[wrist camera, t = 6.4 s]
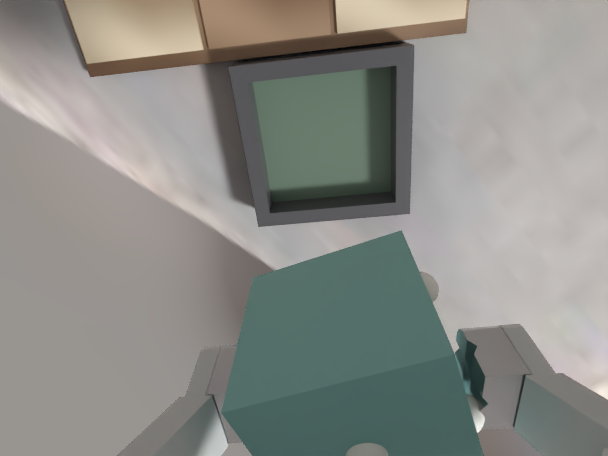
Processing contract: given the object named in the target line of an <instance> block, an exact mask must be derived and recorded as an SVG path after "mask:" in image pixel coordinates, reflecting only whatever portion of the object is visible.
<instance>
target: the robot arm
mask: <svg viewBox="0 0 608 456" xmlns="http://www.w3.org/2000/svg"><path fill="white" fill-rule="evenodd" d="M456 341H457V343H458V345H459V349H458V350H457V351H456V352H455V357H456V361H457V364H458V368H459V371H460V375H461V378H462V382H463V385H464V389H465V392H466V394H468V395H471V396H472V397H474V398H475V400H476V401H477V404H478V407H479V410H480V412H481V413H482V414H483V415H484V417H485V422H484V425H483V427H482V429H497V428H514V430H515V431H516V432H517V433H518V434H519V435H520V436H521V437H522V438H523V439H525V440H526V441H527V442H528V443H529V444H530V445H531V446H532V447H533V448H534V449H535V450H536V451H538V452H539V453H540V454H541V455H542V456H608V400H607V399H605V398H604V397H602V396H600V395H599V394H597V393H595V392H593V391H592V390H590V389H588V388H587V387H585V386H583V385H582V384H580V383H578V382H577V381H575V380H573V379H571V378H570V377H568V376H566V375H565V374H563V373H555V371H554V370H553V369H552V367H551V366H550V364H549V363H548V362H547V360H546V359H545V357H544V356H543V354H542V353H541V352H540V350H539V349H538V347H537V346H536V345H535V343H534V342H533V340H532V339H531V338H530V336H529V335H528V333H527V332H526V331H525V329H524V328H523V326H521V325H520V324H512V325H500V326H489V327H477V328H464V329H459V330H458V332H457V337H456ZM236 348H237V345H222V346H205V347H204V348H203V349H202V350H201V352H200V355H199V358H198V361H197V364H196V366H195V369H194V372H193V375H192V378H191V381H190V384H189V386H188V389H187V393H186V395H185V397H179V398H178V399H177V400H176V401H175V402H174V403H173V404H172V405H171V406H170V407H168V408H167V409H166V410H165V411H164V412H163V413H162V414H161V415H160V416H159V417H158V418H157V419H156V420H155V421H154V422H152V423H151V425H149V426H148V427H147V428H146V429H145V430H144V431H143V432H142V433H141V434H140V435H139V436H137V437H136V438H135V439H134V440H133V441H132V442H131V443H130V444H129V445H128V446H127V447H126V448H125V449H124V450H122V451H121V452H120V453H119V454H118V455H117V456H221V455H222V454H223V453H224V451H225V450H226V448H227V447H228V443H239V442H242V441H241V439H240V438H239V437H238V435H237V434H236V433H235V431H234V430H233V428H232V427H231V426H230V424H229V423H228V422H227V420H226V419H225V418H224V416H223V415H222V413H221V411H222V406H223V402H224V398H225V394H226V390H227V385H228V381H229V377H230V373H231V369H232V364H233V360H234V356H235V352H236Z"/></svg>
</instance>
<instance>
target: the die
mask: <svg viewBox="0 0 608 456" xmlns="http://www.w3.org/2000/svg"><path fill="white" fill-rule="evenodd" d="M438 292H439V288H438V284H437V282H436V280H435V279H434V278H433V277H432V276H431V275H429V274H427V273H425V272H419V270H418V268H417V265H416V263H415V261H414V258H413V256H412V254H411V251H410V249H409V247H408V244H407V242H406V240H405V237H404V235H403V233H402V230H401V231H398V232H395V233H392V234H389V235H386V236H383V237H379V238H376V239H373V240H370V241H367V242H364V243H361V244H357V245H354V246H351V247H348V248H345V249H342V250H339V251H335V252H332V253H329V254H326V255H323V256H320V257H317V258H313V259H310V260H307V261H304V262H301V263H298V264H295V265H291V266H288V267H285V268H282V269H279V270H276V271H272V272H269V273H266V274H264V275H260V276H257V277H254V278H253V280H252V285H251V289H250V293H249V297H248V302H247V306H246V310H245V314H244V318H243V323H242V327H241V331H240V335H239V339H238V343H237V348H236V352H235V356H234V360H233V364H232V369H231V373H230V377H229V381H228V385H227V390H226V394H225V398H224V402H223V406H222V411H221V413H222V415H223V416H224V418H225V419H226V420H227V422H228V423H229V424H230V426H231V427H232V428H233V430H234V431H235V433H236V434H237V435H238V437H239V438H240V439H241V441H242V442H243V443H244V445H245V446H246V448H247V449H248V450H249V452H250V453H251V454H252V456H484V455H483V452H482V448H481V445H480V441H479V438H478V434H477V433H478V432H479V431H480V430H481V429H482V427H483V425H484V422H485V417H484V415H483V414H482V413H481V412H480V410H479V407H478V404H477V401H476V400H475V398H474V397H472V396H471V395H468V394H466V392H465V389H464V385H463V382H462V378H461V375H460V371H459V368H458V364H457V361H456V357H455V354H454V351H453V349H452V347H451V344H450V342H449V340H448V337H447V335H446V333H445V330H444V328H443V326H442V324H441V321H440V319H439V317H438V314H437V312H436V310H435V307H434V305H433V302H434V301H435V300H436V298H437V296H438Z"/></svg>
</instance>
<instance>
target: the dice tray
mask: <svg viewBox="0 0 608 456" xmlns="http://www.w3.org/2000/svg"><path fill="white" fill-rule="evenodd" d="M228 68H229V74H230V79H231V84H232V89H233V95H234V100H235V105H236V111H237V116H238V121H239V126H240V132H241V137H242V142H243V148H244V153H245V158H246V163H247V169H248V174H249V179H250V185H251V190H252V195H253V200H254V206H255V211H256V216H257V221H258V227H262V226H273V225H285V224H296V223H308V222H320V221H331V220H343V219H355V218H366V217H378V216H390V215H401V214H410V186H411V148H412V111H413V73H414V45H412V44H409V43H406V42H404V43H396V44H387V45H379V46H370V47H362V48H353V49H345V50H336V51H328V52H319V53H311V54H302V55H294V56H285V57H277V58H268V59H260V60H251V61H243V62H235V63H234V64H232V65H230V66H229V67H228Z"/></svg>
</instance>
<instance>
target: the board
mask: <svg viewBox="0 0 608 456" xmlns="http://www.w3.org/2000/svg"><path fill="white" fill-rule="evenodd" d="M63 2H64V5H65V7H66V10H67V13H68V16H69V19H70V21H71V24H72V27H73V30H74V33H75V36H76V38H77V41H78V44H79V47H80V50H81V53H82V55H83V58H84V61H85V64H86V67H87V69H88V72H89V75H90V77H95V76H104V75H112V74H121V73H129V72H138V71H146V70H155V69H163V68H172V67H180V66H189V65H197V64H206V63H214V62H223V61H231V60H240V59H248V58H256V57H265V56H273V55H282V54H290V53H299V52H307V51H316V50H324V49H333V48H341V47H350V46H358V45H367V44H375V43H384V42H392V41H401V40H409V39H418V38H426V37H435V36H443V35H452V34H460V33H466V30H467V18H468V6H469V0H63Z"/></svg>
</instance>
